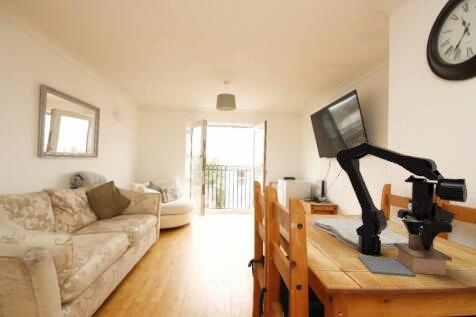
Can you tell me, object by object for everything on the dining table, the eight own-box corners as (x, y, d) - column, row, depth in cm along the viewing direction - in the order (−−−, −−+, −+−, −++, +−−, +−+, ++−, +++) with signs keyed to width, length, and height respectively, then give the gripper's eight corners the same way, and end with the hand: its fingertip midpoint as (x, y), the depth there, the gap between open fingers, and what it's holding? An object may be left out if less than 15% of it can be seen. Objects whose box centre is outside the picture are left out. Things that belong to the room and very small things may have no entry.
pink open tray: (413, 273, 76) (413, 256, 76) (397, 261, 85) (398, 246, 85) (445, 275, 75) (446, 259, 75) (426, 263, 84) (427, 248, 84)
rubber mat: (371, 273, 75) (372, 271, 75) (357, 257, 87) (357, 255, 87) (415, 276, 74) (415, 274, 74) (394, 260, 86) (394, 258, 86)
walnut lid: (411, 257, 76) (412, 240, 76) (393, 245, 86) (393, 229, 86) (451, 260, 74) (452, 242, 74) (428, 247, 85) (428, 231, 85)
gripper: (474, 204, 70) (472, 260, 70) (431, 194, 89) (429, 239, 89) (430, 202, 71) (429, 257, 71) (397, 193, 90) (395, 237, 90)
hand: (420, 246), depth 80 cm, fingers open, 6 cm apart
